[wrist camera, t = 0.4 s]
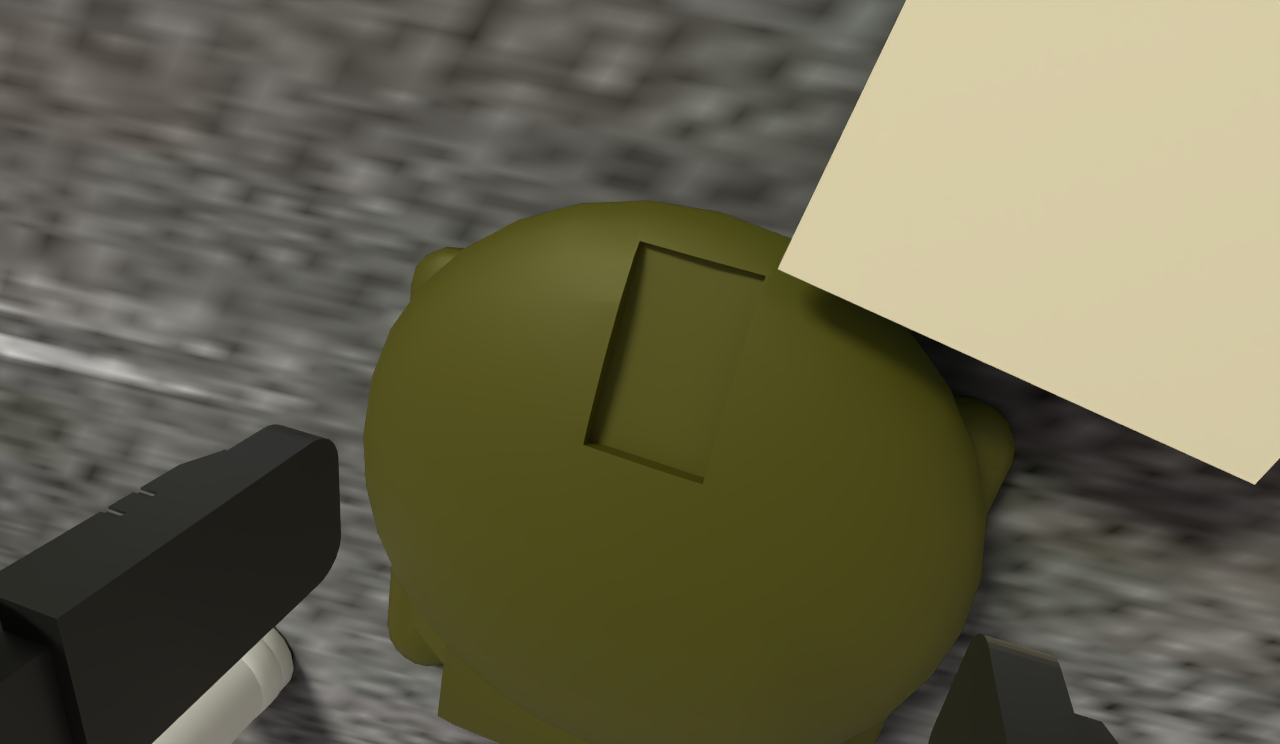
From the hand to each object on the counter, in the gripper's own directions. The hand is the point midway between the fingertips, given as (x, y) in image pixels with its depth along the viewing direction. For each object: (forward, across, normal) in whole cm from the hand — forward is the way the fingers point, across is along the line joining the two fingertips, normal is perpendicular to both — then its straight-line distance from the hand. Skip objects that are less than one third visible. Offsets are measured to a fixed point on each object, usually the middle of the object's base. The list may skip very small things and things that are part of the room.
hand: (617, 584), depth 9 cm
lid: (+21, -12, -3) cm, 24 cm away
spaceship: (+28, +4, +18) cm, 34 cm away
